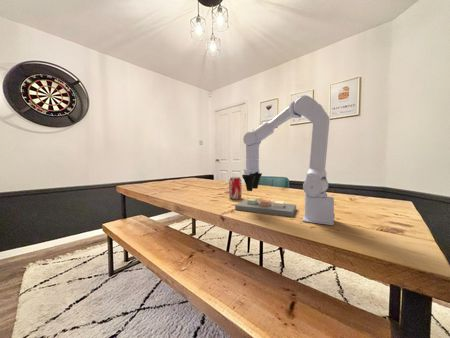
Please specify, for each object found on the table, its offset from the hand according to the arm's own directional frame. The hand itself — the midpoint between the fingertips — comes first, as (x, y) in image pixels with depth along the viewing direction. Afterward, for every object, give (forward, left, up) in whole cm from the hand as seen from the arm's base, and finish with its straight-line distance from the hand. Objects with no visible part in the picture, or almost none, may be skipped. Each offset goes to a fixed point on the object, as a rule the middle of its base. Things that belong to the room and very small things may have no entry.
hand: (252, 189), depth 83 cm
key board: (-6, 0, -8) cm, 10 cm away
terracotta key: (-6, 0, -7) cm, 9 cm away
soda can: (+16, -16, -9) cm, 24 cm away
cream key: (-12, 0, -7) cm, 14 cm away
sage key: (0, 0, -7) cm, 7 cm away
